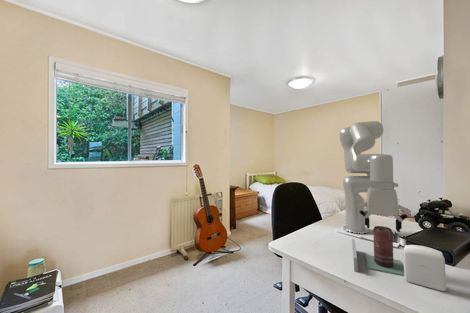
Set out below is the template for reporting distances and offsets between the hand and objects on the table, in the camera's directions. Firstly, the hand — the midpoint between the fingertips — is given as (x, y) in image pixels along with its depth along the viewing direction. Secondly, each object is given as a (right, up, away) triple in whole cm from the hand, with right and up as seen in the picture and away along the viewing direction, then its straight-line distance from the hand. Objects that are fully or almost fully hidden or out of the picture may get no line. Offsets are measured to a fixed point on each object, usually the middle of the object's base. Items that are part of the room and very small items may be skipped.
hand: (382, 229), depth 81 cm
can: (0, -14, -1) cm, 14 cm away
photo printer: (+4, -14, -13) cm, 20 cm away
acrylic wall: (-9, -14, +4) cm, 17 cm away
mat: (0, -14, -1) cm, 14 cm away
